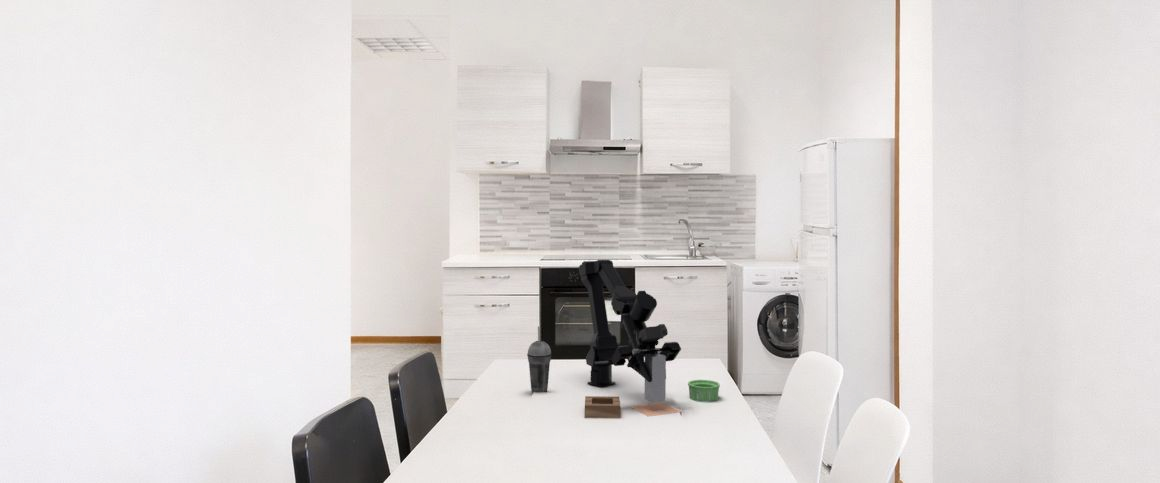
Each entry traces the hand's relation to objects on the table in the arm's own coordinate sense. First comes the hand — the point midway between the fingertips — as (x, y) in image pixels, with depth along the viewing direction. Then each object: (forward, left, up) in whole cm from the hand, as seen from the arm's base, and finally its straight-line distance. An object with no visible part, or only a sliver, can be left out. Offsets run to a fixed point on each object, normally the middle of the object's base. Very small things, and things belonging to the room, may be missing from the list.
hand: (657, 380), depth 163 cm
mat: (0, -1, -9) cm, 9 cm away
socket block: (+11, -9, -9) cm, 17 cm away
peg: (-1, -1, -6) cm, 6 cm away
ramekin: (-22, 0, -9) cm, 24 cm away
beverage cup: (+7, -38, -9) cm, 39 cm away
